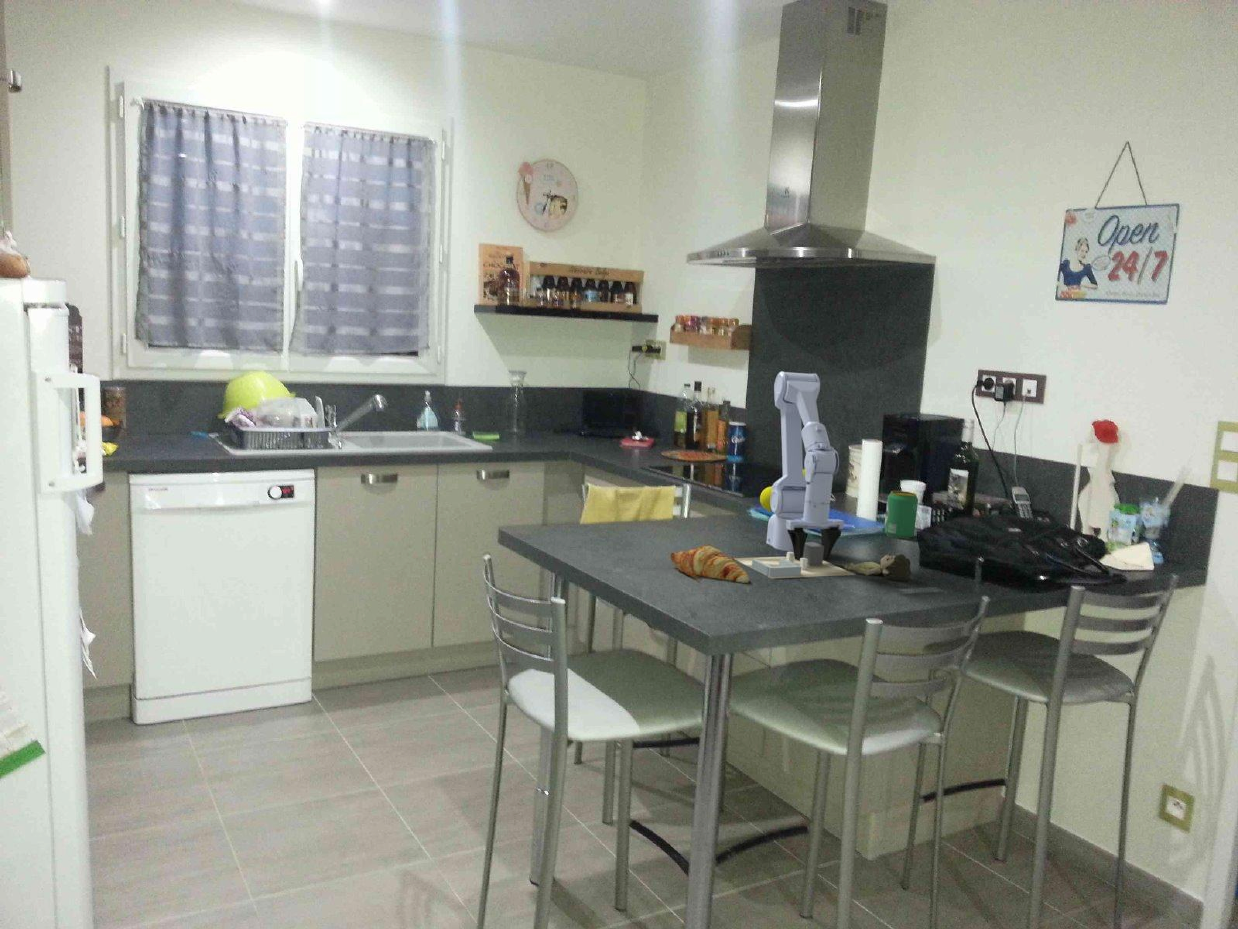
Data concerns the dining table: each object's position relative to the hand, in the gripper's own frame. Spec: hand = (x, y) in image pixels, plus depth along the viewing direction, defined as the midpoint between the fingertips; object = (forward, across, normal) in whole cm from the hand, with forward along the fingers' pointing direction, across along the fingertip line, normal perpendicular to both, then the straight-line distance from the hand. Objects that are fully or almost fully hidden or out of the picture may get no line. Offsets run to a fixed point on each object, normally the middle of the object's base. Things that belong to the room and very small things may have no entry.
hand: (811, 559), depth 234 cm
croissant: (+2, -29, -3) cm, 29 cm away
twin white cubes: (+1, -5, -1) cm, 5 cm away
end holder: (+1, -13, -5) cm, 14 cm away
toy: (+2, +25, +48) cm, 54 cm away
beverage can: (+2, +47, +28) cm, 55 cm away
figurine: (+2, +11, -10) cm, 15 cm away
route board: (+2, -6, -2) cm, 7 cm away
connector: (+1, 0, +2) cm, 2 cm away
